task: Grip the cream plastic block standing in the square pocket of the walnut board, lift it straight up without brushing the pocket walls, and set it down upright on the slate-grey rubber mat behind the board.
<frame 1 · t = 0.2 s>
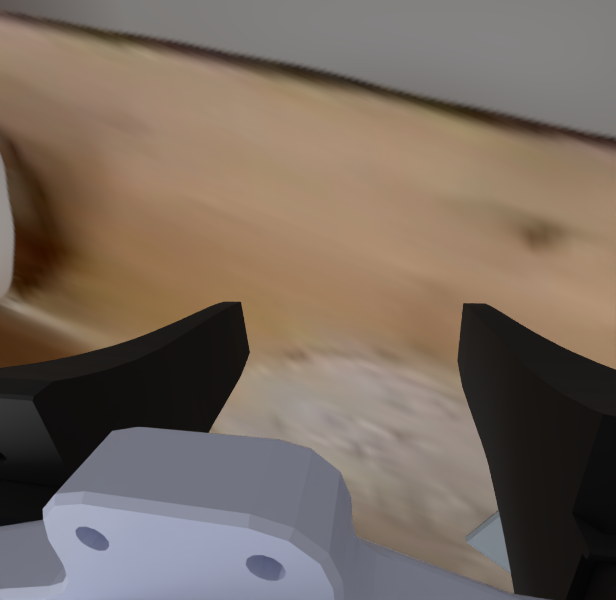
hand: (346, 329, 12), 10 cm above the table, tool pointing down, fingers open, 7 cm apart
slate mat: (569, 539, 24), on the table
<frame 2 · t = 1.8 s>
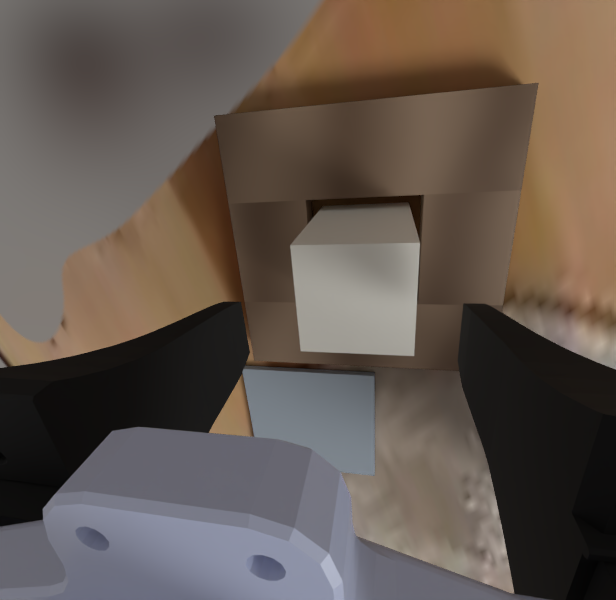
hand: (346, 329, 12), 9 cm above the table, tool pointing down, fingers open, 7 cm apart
slate mat: (311, 420, 26), on the table
pocket board: (365, 245, 20), on the table
cream block: (360, 268, 17), in the pocket board
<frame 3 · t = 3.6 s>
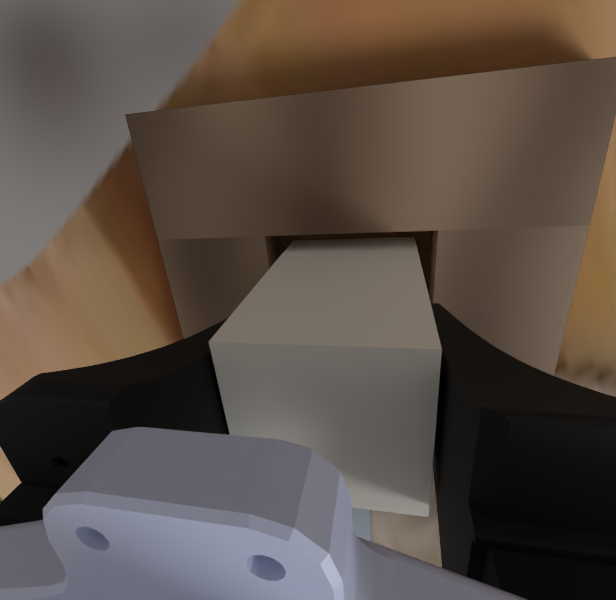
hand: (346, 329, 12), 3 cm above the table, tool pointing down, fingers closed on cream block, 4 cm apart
slate mat: (290, 502, 21), on the table
pocket board: (353, 294, 14), on the table
cream block: (343, 343, 11), in the pocket board, touching gripper
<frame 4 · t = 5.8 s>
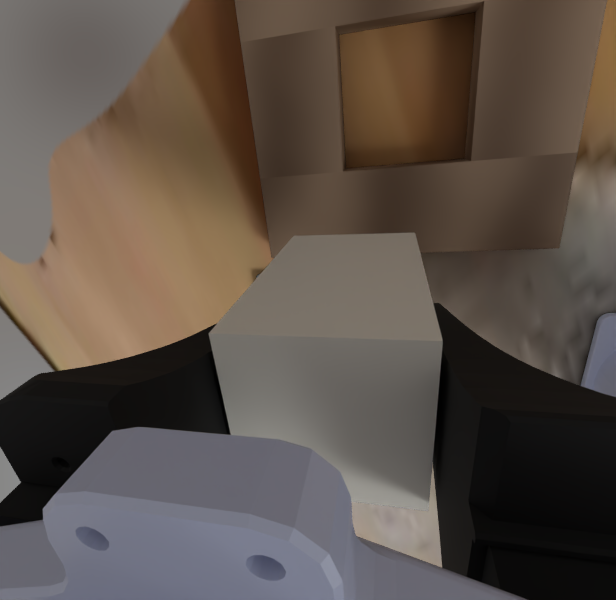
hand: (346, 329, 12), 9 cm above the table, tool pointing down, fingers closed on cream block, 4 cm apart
pocket board: (404, 98, 17), on the table
cream block: (343, 338, 11), point 10 cm above the table, touching gripper
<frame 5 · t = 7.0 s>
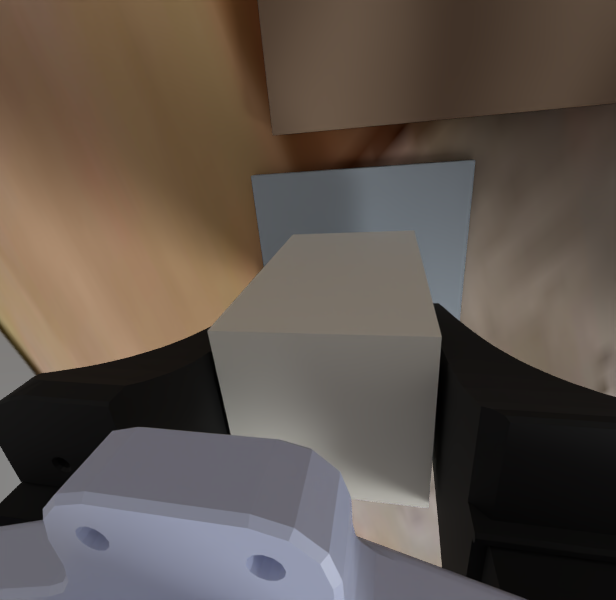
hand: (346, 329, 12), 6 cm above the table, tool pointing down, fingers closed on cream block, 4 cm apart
slate mat: (359, 269, 17), on the table
cream block: (343, 336, 11), point 6 cm above the table, touching gripper
when the fingers open (5 cm above the table, at t = 8.1 s): cream block drops 1 cm, resting on slate mat.
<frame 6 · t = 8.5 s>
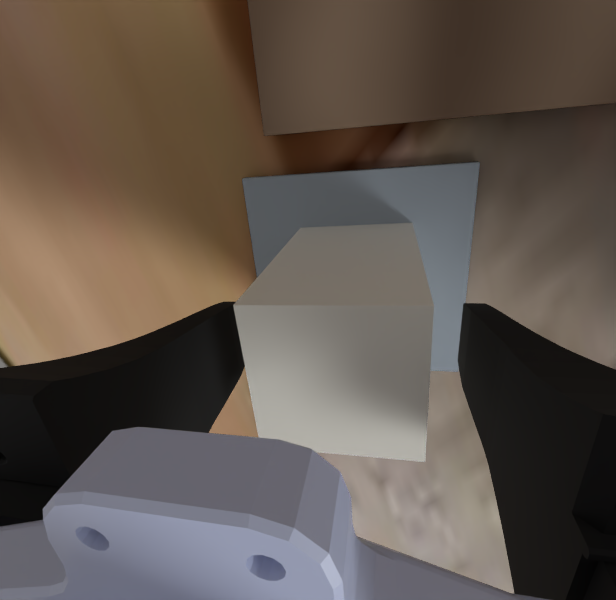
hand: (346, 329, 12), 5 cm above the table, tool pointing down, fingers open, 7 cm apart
slate mat: (356, 277, 16), on the table
cream block: (348, 317, 12), on the slate mat
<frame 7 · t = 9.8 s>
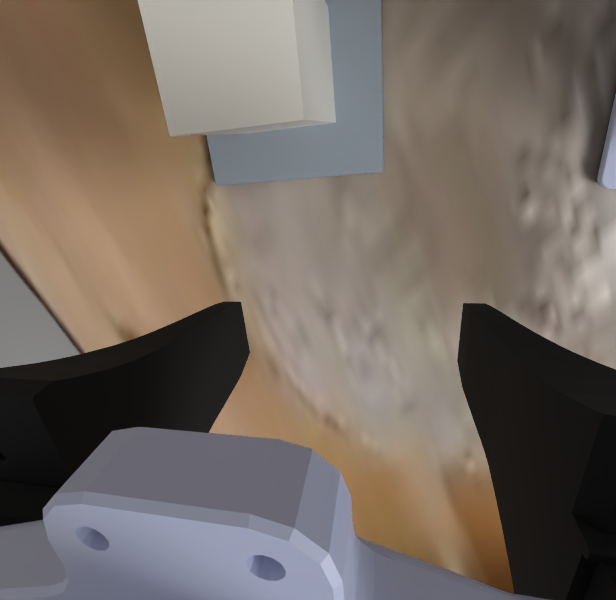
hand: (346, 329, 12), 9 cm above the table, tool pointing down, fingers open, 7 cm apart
slate mat: (286, 80, 18), on the table
cream block: (260, 62, 14), on the slate mat
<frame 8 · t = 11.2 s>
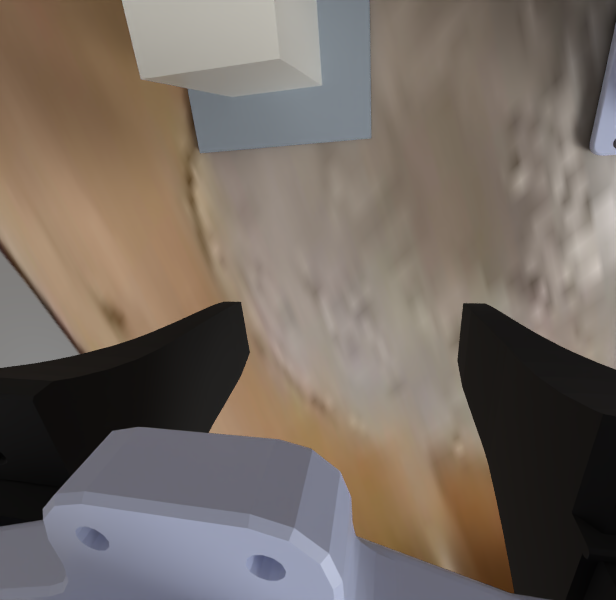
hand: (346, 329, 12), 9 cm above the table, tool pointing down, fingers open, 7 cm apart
slate mat: (272, 41, 17), on the table
cream block: (240, 11, 13), on the slate mat
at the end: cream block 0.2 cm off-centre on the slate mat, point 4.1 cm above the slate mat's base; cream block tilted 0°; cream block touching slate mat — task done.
